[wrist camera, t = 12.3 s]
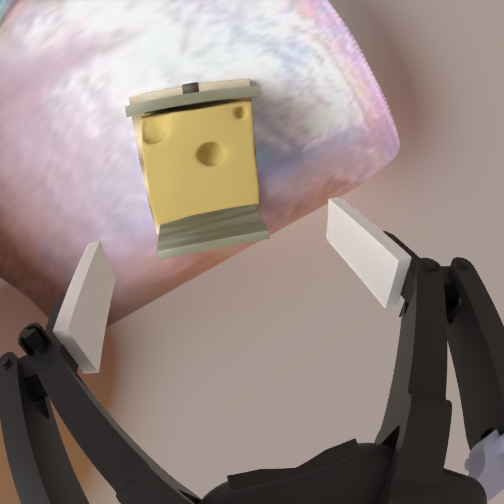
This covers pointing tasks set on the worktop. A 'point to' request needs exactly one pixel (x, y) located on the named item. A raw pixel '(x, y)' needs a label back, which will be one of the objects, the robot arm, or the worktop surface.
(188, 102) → the holder
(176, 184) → the cheese
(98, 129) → the worktop surface
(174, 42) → the worktop surface
